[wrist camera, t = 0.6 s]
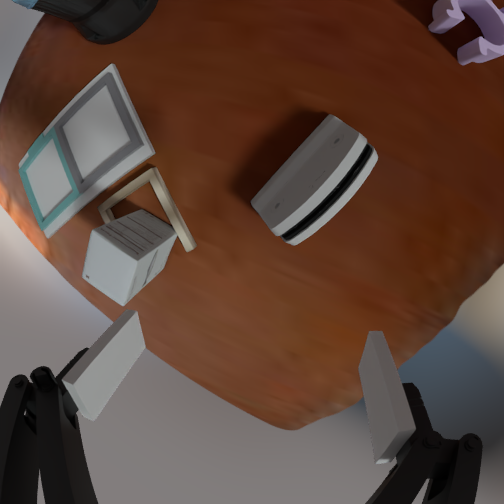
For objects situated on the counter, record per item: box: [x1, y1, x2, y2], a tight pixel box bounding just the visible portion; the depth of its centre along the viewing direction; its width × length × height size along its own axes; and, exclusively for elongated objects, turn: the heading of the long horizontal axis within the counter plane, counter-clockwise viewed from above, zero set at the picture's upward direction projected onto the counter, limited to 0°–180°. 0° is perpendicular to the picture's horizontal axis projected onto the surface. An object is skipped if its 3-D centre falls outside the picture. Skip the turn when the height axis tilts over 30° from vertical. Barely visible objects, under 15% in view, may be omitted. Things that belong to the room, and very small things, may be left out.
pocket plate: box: [19, 63, 155, 239], centre depth 38 cm, size 18×30×2 cm, turn 116°
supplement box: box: [82, 209, 177, 306], centre depth 35 cm, size 7×7×13 cm
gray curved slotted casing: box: [251, 114, 378, 245], centre depth 31 cm, size 17×5×10 cm, turn 140°
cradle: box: [97, 167, 197, 252], centre depth 40 cm, size 13×12×2 cm
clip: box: [428, 0, 504, 65], centre depth 18 cm, size 20×12×7 cm, turn 137°
